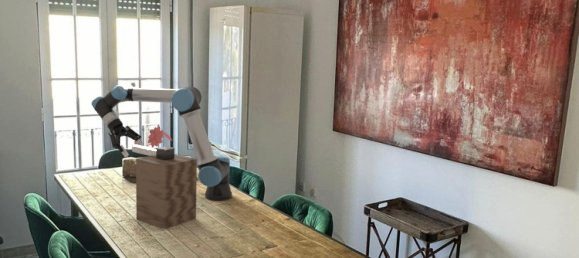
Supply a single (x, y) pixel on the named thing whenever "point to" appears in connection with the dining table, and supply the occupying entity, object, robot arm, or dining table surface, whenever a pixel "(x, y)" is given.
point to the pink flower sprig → (156, 137)
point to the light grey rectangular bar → (155, 152)
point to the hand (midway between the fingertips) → (136, 153)
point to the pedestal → (166, 190)
